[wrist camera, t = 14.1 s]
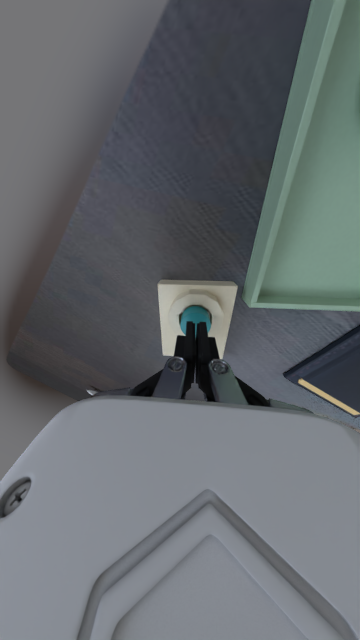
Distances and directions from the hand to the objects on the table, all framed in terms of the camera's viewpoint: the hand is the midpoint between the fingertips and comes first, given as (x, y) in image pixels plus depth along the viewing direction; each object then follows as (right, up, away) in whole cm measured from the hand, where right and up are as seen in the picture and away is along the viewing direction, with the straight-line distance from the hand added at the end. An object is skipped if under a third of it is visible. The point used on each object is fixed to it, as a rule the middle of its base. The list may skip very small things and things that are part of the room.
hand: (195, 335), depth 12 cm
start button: (0, +2, +4) cm, 4 cm away
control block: (+1, +2, +8) cm, 8 cm away
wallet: (+29, -7, +10) cm, 31 cm away
